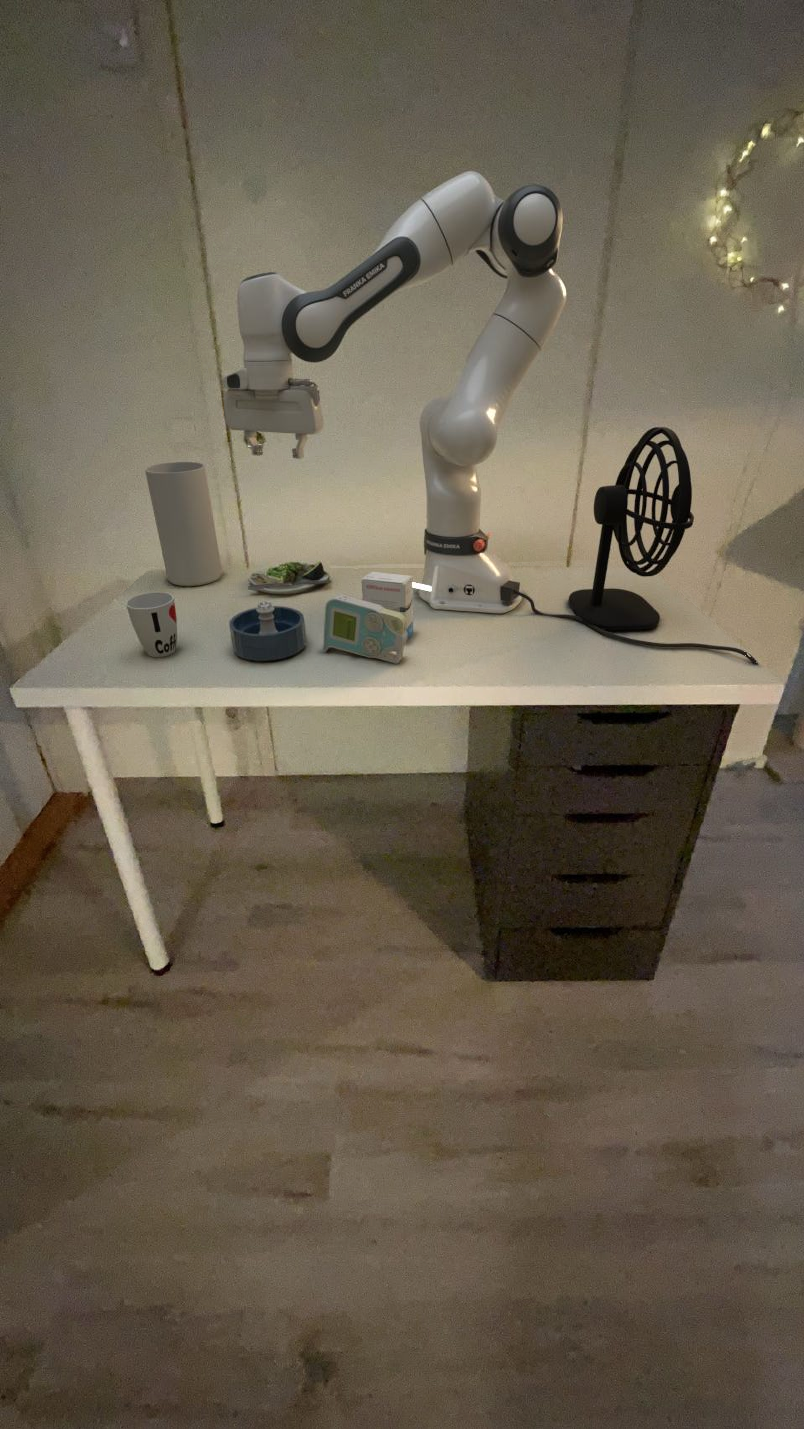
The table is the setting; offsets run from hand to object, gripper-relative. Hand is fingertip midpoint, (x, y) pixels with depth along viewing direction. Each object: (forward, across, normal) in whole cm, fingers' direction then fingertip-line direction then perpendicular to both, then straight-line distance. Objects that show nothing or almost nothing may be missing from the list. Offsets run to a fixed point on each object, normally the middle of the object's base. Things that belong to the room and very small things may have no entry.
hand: (277, 456), depth 129 cm
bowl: (+29, -10, +24) cm, 39 cm away
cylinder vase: (+29, +28, -2) cm, 40 cm away
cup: (+29, +8, +33) cm, 45 cm away
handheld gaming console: (+29, -28, +20) cm, 45 cm away
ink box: (+29, -28, +11) cm, 42 cm away
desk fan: (+29, -67, -17) cm, 75 cm away
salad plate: (+29, +4, -7) cm, 31 cm away
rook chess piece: (+29, -10, +24) cm, 39 cm away
